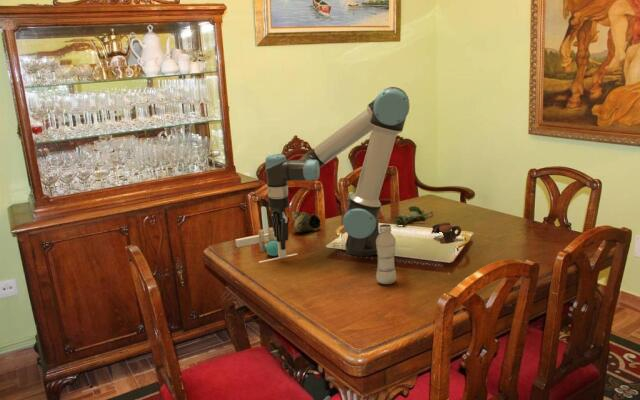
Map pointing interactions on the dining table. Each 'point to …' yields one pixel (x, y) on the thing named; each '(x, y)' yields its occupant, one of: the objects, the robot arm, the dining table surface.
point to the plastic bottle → (385, 255)
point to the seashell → (305, 222)
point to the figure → (412, 215)
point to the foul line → (277, 258)
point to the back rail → (251, 240)
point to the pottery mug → (446, 232)
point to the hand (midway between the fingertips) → (282, 256)
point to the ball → (272, 248)
